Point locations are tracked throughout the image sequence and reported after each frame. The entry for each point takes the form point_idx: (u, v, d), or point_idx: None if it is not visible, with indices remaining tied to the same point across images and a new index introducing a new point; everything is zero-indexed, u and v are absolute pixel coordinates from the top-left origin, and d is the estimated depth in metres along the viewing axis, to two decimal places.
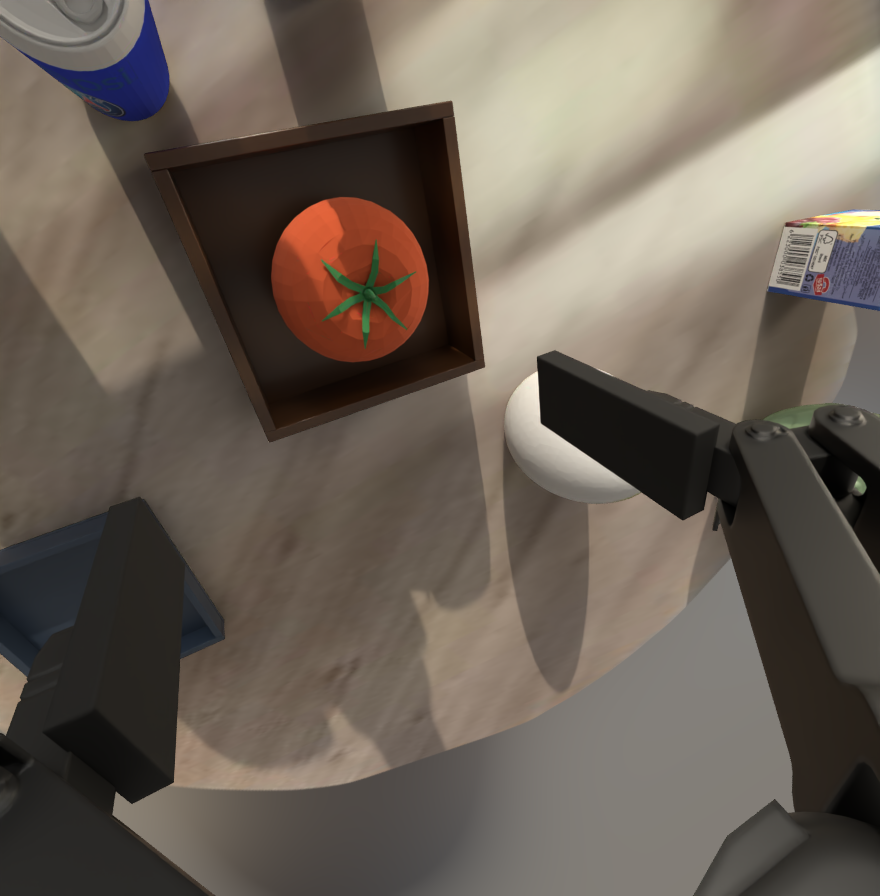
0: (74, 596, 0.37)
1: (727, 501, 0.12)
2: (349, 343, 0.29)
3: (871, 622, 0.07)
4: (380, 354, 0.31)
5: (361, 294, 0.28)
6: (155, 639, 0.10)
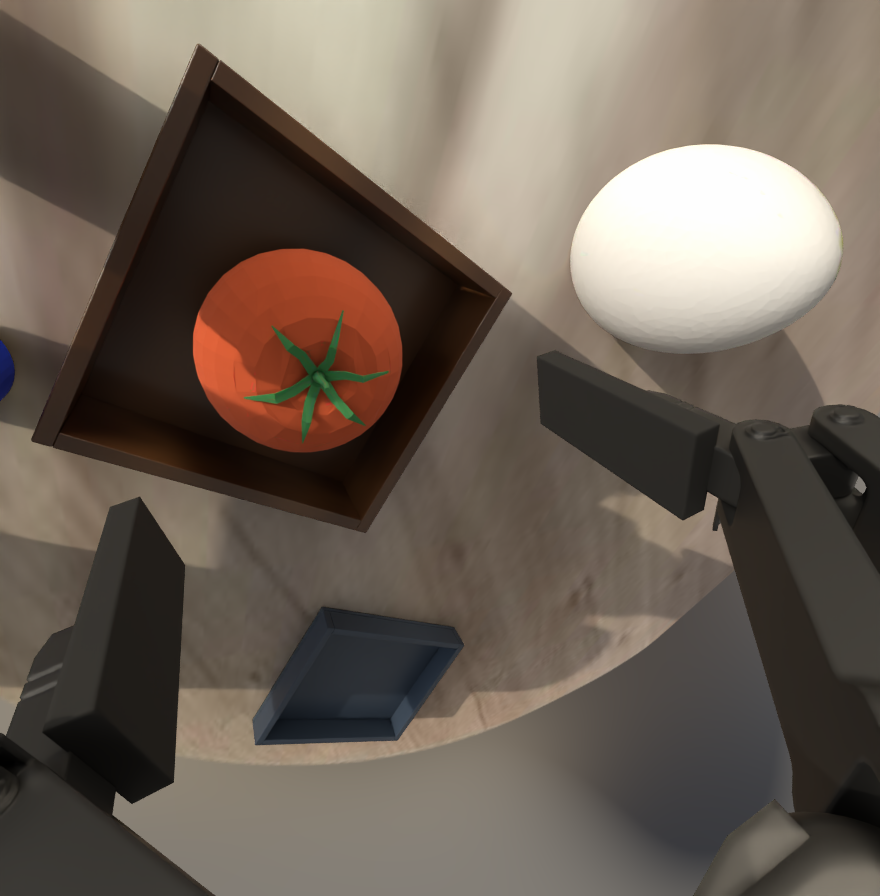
0: (339, 684, 0.43)
1: (727, 501, 0.12)
2: (347, 431, 0.23)
3: (871, 622, 0.07)
4: (387, 404, 0.24)
5: (313, 383, 0.21)
6: (155, 639, 0.10)
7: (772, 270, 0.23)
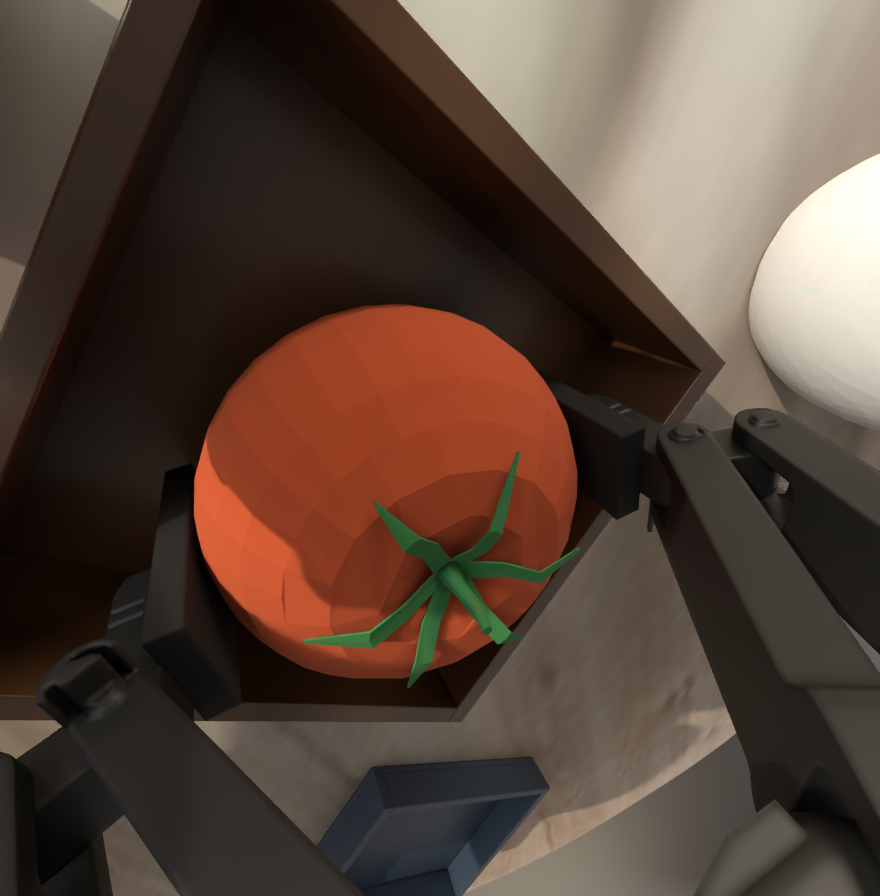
0: (388, 847, 0.33)
1: (658, 503, 0.12)
2: None
3: (805, 617, 0.07)
4: None
5: (438, 585, 0.10)
6: None
7: None
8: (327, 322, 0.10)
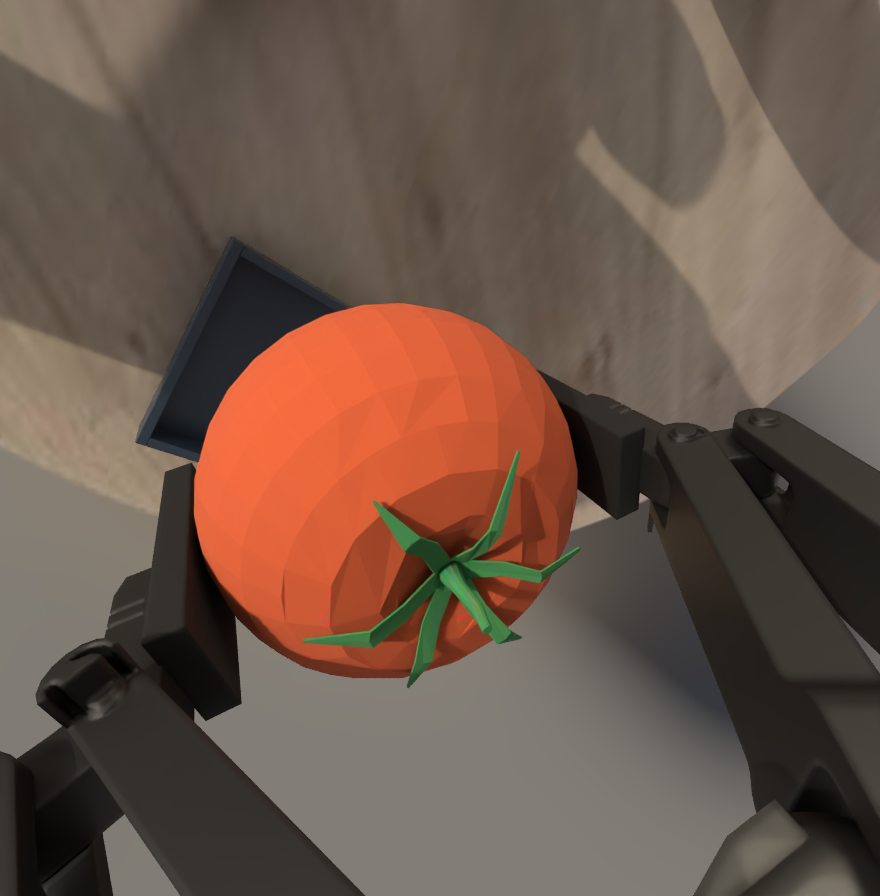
0: None
1: (658, 503, 0.12)
2: None
3: (805, 617, 0.07)
4: None
5: (438, 585, 0.10)
6: None
7: None
8: (327, 321, 0.10)
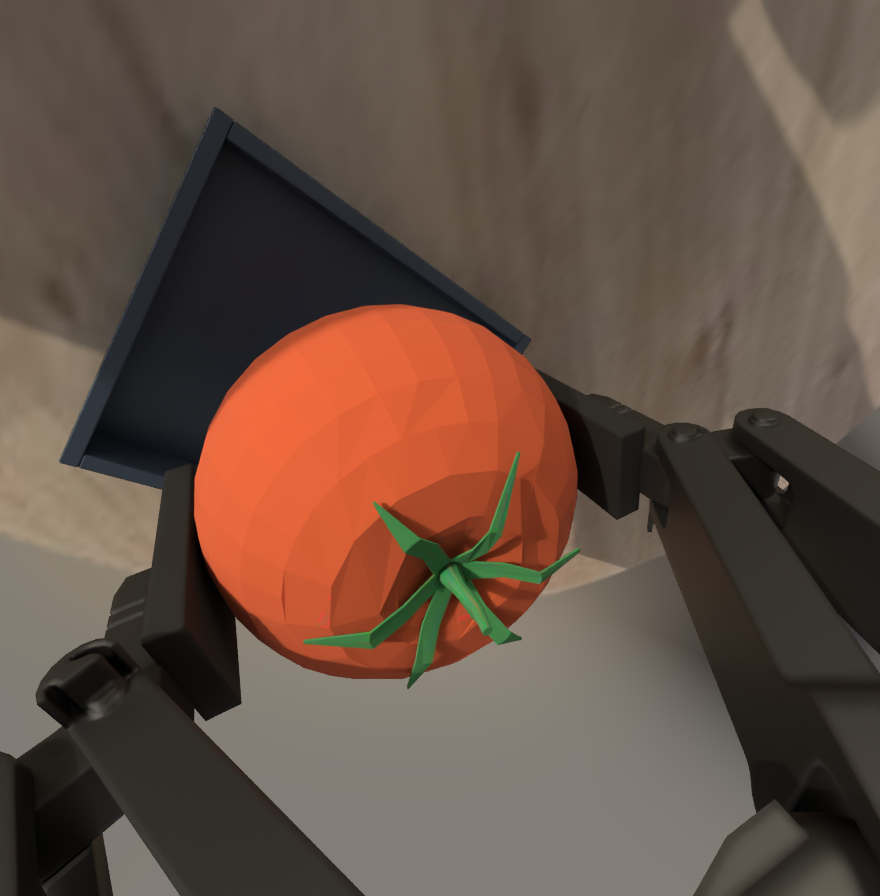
0: None
1: (658, 503, 0.12)
2: None
3: (805, 617, 0.07)
4: None
5: (438, 586, 0.10)
6: None
7: None
8: (327, 323, 0.10)
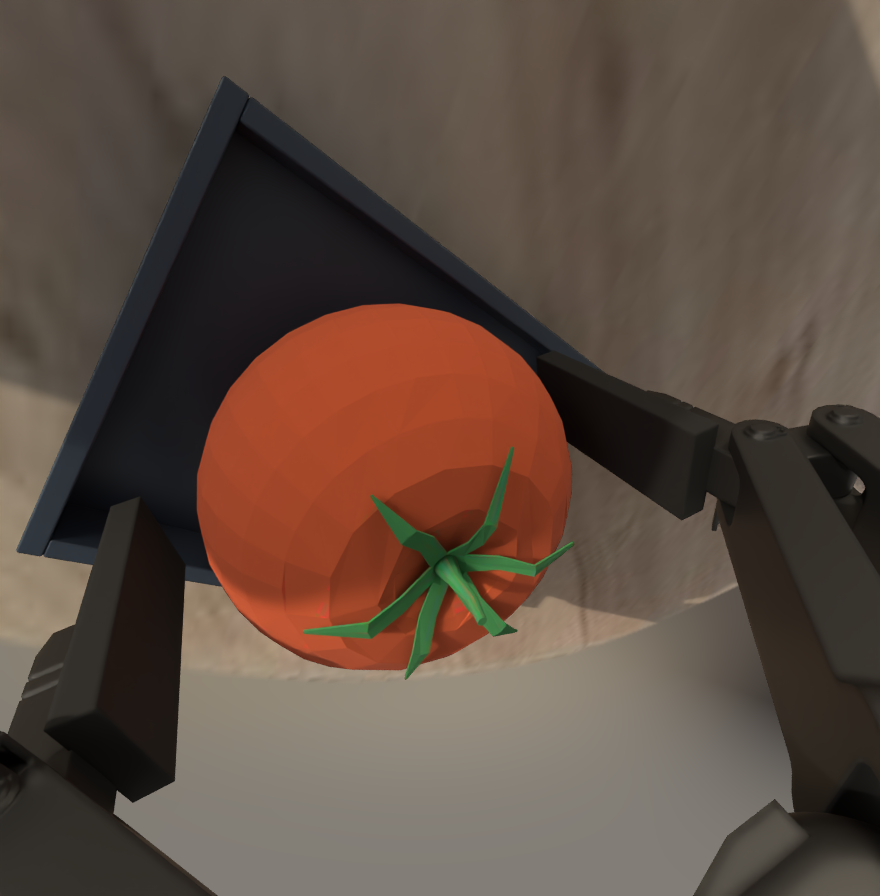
0: None
1: (726, 501, 0.12)
2: None
3: (870, 622, 0.07)
4: None
5: (435, 579, 0.11)
6: (156, 638, 0.10)
7: None
8: (327, 321, 0.11)
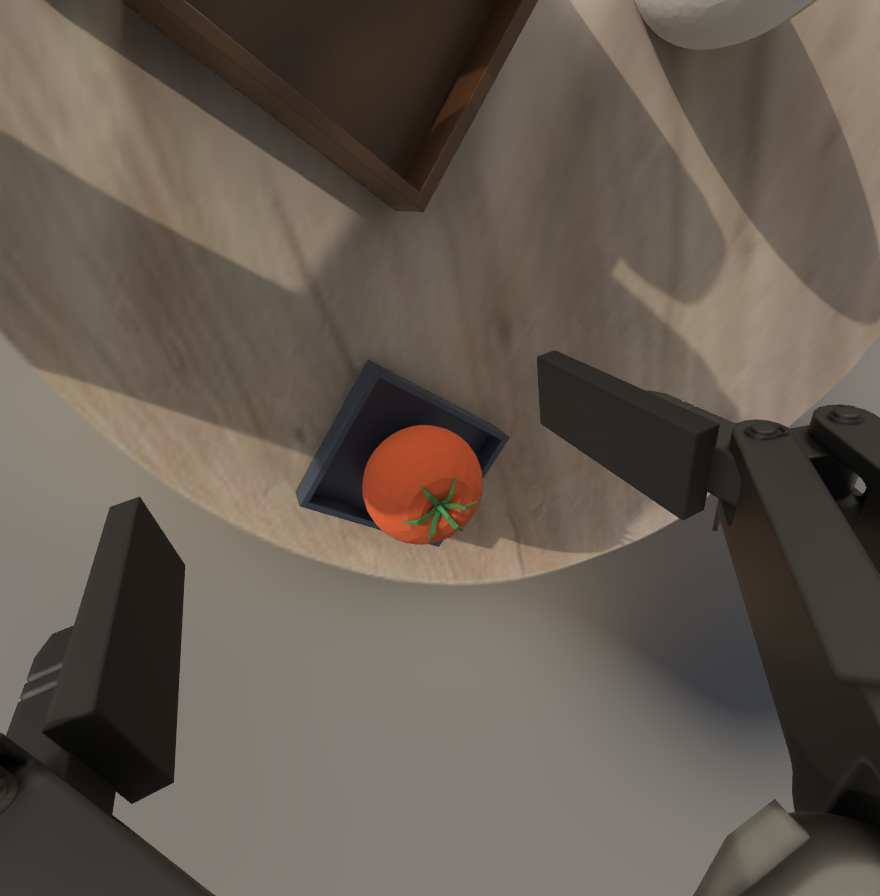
0: None
1: (727, 501, 0.12)
2: (451, 533, 0.38)
3: (871, 622, 0.07)
4: (473, 513, 0.39)
5: (436, 510, 0.36)
6: (155, 639, 0.10)
7: None
8: (404, 435, 0.36)
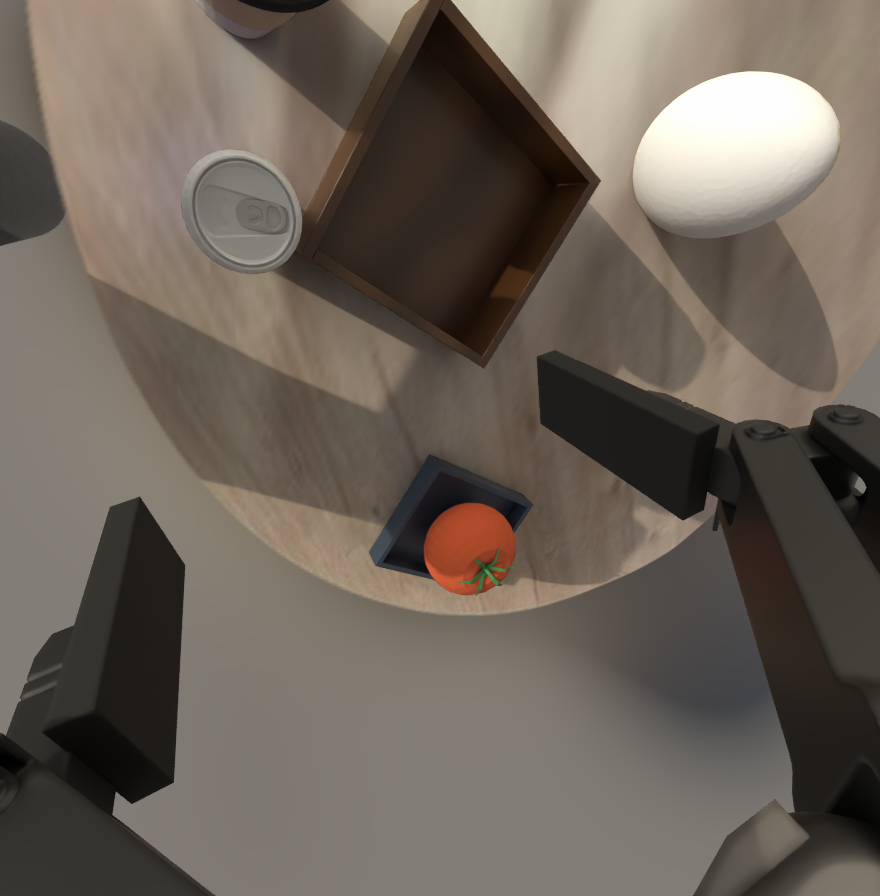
0: None
1: (727, 501, 0.12)
2: (492, 587, 0.50)
3: (871, 622, 0.07)
4: None
5: (483, 572, 0.48)
6: (155, 639, 0.10)
7: (791, 150, 0.33)
8: (459, 515, 0.48)
